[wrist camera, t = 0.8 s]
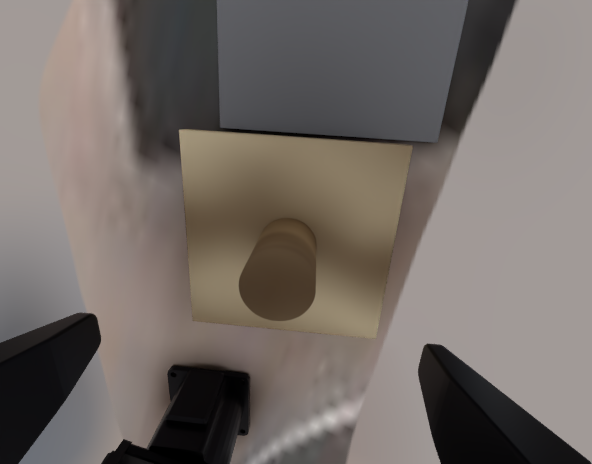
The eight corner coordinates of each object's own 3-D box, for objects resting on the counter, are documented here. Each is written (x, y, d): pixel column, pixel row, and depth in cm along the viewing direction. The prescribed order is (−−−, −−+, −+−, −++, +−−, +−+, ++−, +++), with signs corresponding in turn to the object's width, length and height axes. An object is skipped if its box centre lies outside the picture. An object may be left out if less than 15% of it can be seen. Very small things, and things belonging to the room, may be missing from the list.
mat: (433, 141, 17) (437, 142, 16) (223, 127, 18) (220, 127, 17) (496, -155, 13) (504, -167, 12) (216, -161, 13) (212, -173, 13)
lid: (373, 329, 17) (392, 405, 12) (198, 312, 17) (155, 379, 13) (407, 144, 13) (451, 157, 9) (186, 129, 14) (122, 134, 9)
